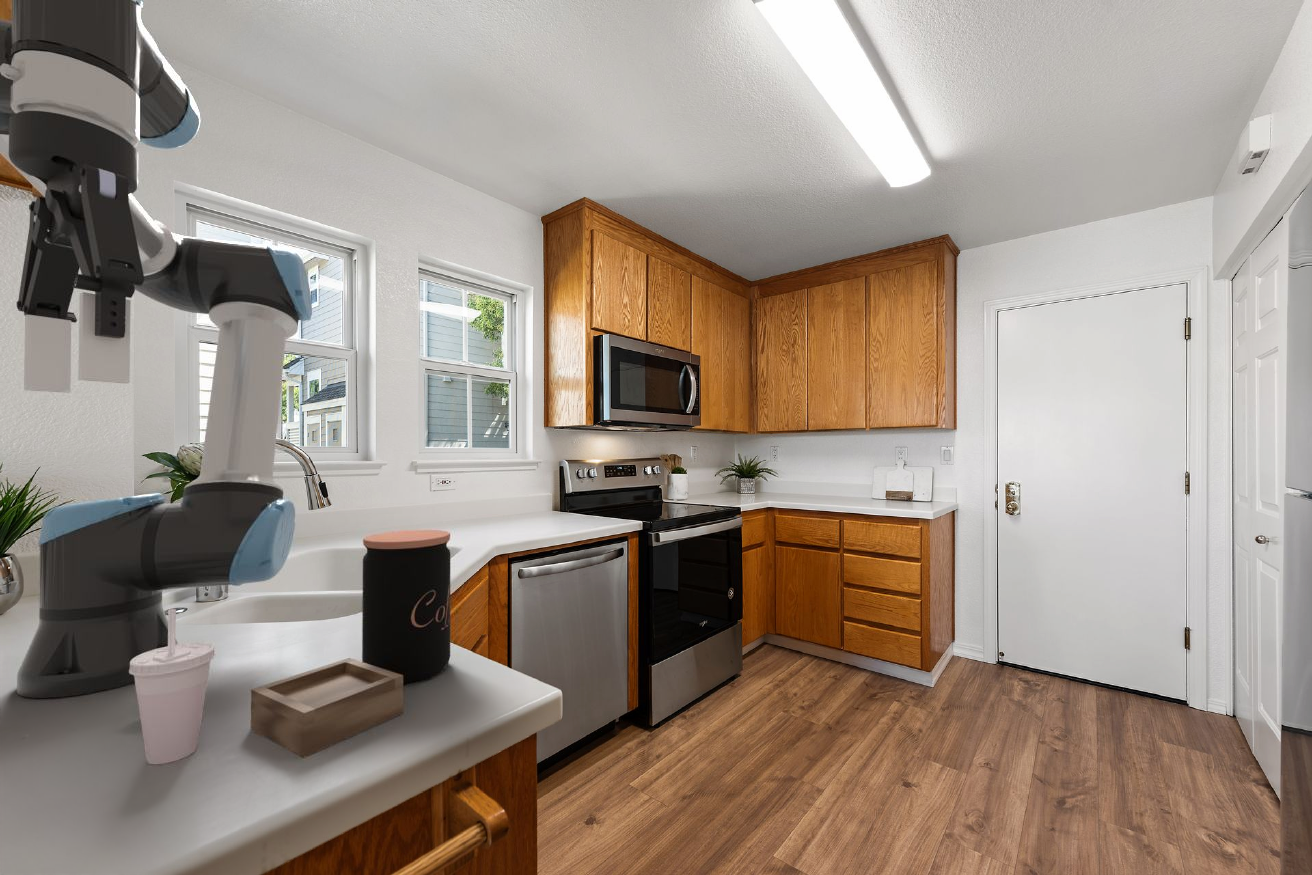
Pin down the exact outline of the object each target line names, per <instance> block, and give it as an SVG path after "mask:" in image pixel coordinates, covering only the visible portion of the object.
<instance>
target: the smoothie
mask: <svg viewBox="0 0 1312 875" xmlns="http://www.w3.org/2000/svg"><path fill="white" fill-rule="evenodd" d="M167 614H168V616H167V619H168V646H167V647H162V648H158V649H155V650H151V651H148V652H145V653H143V654H140V655H138V656H136V657H135V658H133V659H132V660H131V661H130V670H129V673H130V674H132V675H134V678H135V682H134V685H135V692H136V698H137V704H138V705H137V706H138V711H139V717H140V718H139V719H140V723H141V730H142V731H141V732H142V736H143V743H144V750H145V756H146V757H145V758H146V763H148V764H150V765H162V764H169V763H172V762H176V761H179V760H182V759H185V758H186V757H188V756H191V755H192V754H194V753H195V752H196V750H197V749H198V745H199V738H200V731H201V724H202V719H203V713H204V706H205V705H204V704H205V701H206V700H205V699H206V693H207V686H208V681H209V680H208V679H209V675H210V668H211V661H212V660H213V659H214V658H216V653H215V645H214V644H212V643H210V642H209V643H208V642H188V643H178V645H175V641H176V640H177V638H176V632H177V631H176V628H177V626H176V624H177V622H176V620H177V617H176V616H177V609H176V608H172V609H169V610H168V611H167Z"/></svg>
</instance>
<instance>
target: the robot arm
mask: <svg viewBox="0 0 1312 875" xmlns="http://www.w3.org/2000/svg"><path fill="white" fill-rule="evenodd" d="M10 5H11V20H6V19H2V18H0V155H1V156H2V157H3V158H4V159H5V160H6V161H7V162H8V163H9V164H10V165H11V166H12V167H13V168H14V169H16V171H18V173H19V174H20V175H21V176H23V178H25V179H26V180H27V181H28V182H29V183H30V184H31V185H32V186H33V187H34V188H35V189H36V190H37V191H38V192H39V193H40V194H41V195H42V196H40V195H38V196H36V199H35V200H32V201H31V202H30V204H29V205H28V209H29V226H28V227H29V228H28V235H27V240H26V247H25V254H24V261H23V266H22V267H23V268H22V273H21V279H20V286H19V292H18V300H17V301H16V309H17V311H19V312H22V313H23V315H24V362H23V363H24V364H23V365H24V369H23V372H24V373H23V374H24V375H23V376H24V377H23V391H31V392H33V391H34V392H51V393H71V375H72V374H71V373H72V372H71V370H72V369H71V367H72V366H71V365H72V364H71V363H72V361H71V360H72V323H77V322H79V323H78V373H77V374H78V381H85V382H86V381H87V382H89V381H90V382H98V383H99V382H100V383H101V382H102V383H112V384H113V383H114V384H130V381H131V380H130V379H131V378H130V377H131V374H130V372H131V371H130V370H131V369H130V368H131V367H130V365H131V363H130V362H131V361H130V360H131V356H130V355H131V298H132V297H133V296H134V294H135V291H137V292H139V293H140V294H142V295H144V296H146V297H148V298H150V299H151V300H153V301H155V302H157V303H160V304H163V305H165V306H167V307H171V308H173V309H177V310H179V311H183V312H188V313H193V314H202V315H203V314H204V315H208V318H209V319H210V321H211V322H212V324H214V325H215V326H216V327H217V328H218V329H219V330H218V337H217V338H218V340H217V345H216V354H215V361H214V366H213V367H214V368H213V375H212V385H211V392H210V398H209V405H208V414H207V421H206V429H205V436H204V442H203V451H202V458H201V465H200V473H199V476H198V477H197V478H196V479H194V480H192V481H191V482H189V483H187V484H186V485H185V486H184V488H183V495H182V499H181V502H175V503H171V502H170V503H166V498H165V497H164V495H163V494H162V493H161V492H156V493H155V492H154V493H148V494H147V493H146V494H140V495H132V496H131V495H130V496H125V497H123V496H122V497H118V498H115V497H114V498H110V499H109V498H108V499H103V500H96V501H89V502H88V501H86V502H80V503H72V504H67V505H66V504H65V505H59V506H56V507H53V508H52V509H50V510H49V511H47V512H46V513H45V514H44V516H43V517H42V520H41V521H42V522H41V527H40V528H41V529H40V536H39V541H38V543H37V546H38V547H39V589H38V590H39V591H38V592H39V595H38V596H39V597H38V599H39V603H38V604H39V605H38V607H39V612H38V614H39V615H38V618H39V620H38V626H37V630H36V632H35V633H34V636H33V638H32V640H31V642H30V645H29V647H28V648H27V651H26V654H25V656H24V658H23V660H22V662H21V664H20V667H19V669H18V671H17V675H16V693H17V695H19V696H20V697H21V696H22V697H24V698H33V699H46V698H50V699H51V698H59V697H70V696H77V695H84V694H88V693H95V692H99V691H105V690H109V689H113V688H114V689H115V688H117V687H121V686H125V685H129V684H132V683H135V678H134V675H132V674H130V673H129V670H130V661H131V660H132V659H133V658H135V657H136V656H138V655H140V654H143V653H145V652H148V651H151V650H155V649H158V648H162V647H167V646H168V616H167V615H166V613H165V610H164V608H163V591H165V590H177V589H178V590H179V589H189V588H204V587H205V588H207V587H216V586H217V587H218V586H231V585H232V586H234V587H236V586H237V587H239V586H242V585H243V584H253V583H259V582H260V583H262V582H266V581H270V580H271V579H273V578H274V577H276V576H277V575H278V574H280V571H281V570H282V569H283V567H284V566H285V563H286V561H287V559H288V556H289V553H290V551H291V547H292V543H293V540H294V534H295V527H296V522H295V519H296V518H295V517H296V509H295V506H294V503H293V502H292V500H290V499H287V498H284V488H282V487H281V486H280V485H279V484H278V483H277V482H276V481H275V480H274V476H273V475H274V466H275V465H274V464H275V456H276V446H277V445H276V444H277V436H278V435H277V434H278V423H279V413H280V412H279V411H280V403H281V392H282V382H283V381H282V380H283V374H284V373H283V372H284V361H285V350H286V342H287V339H290V338H291V337H293V336H295V335H296V334H297V333H298V329H299V321H301V322H305V321H310V320H312V315H313V306H312V304H313V303H312V297H311V290H310V283H309V278H308V274H307V271H306V270H307V269H306V267H305V263H304V261H303V258H302V256H301V255H300V254H299V252H297V251H296V250H295V249H292V248H289V247H283V246H277V245H276V246H275V245H271V243H266V245H264V244H263V245H262V244H256V243H255V244H254V243H247V242H246V243H245V242H239V241H238V242H237V241H230V240H229V241H227V240H220V239H210V238H201V237H200V238H198V237H192V236H185V235H180V234H177V233H173V232H172V231H171V230H170V229H169V228H168V226H166V225H165V224H163V223H162V222H161V221H159V220H157V219H155V218H153V217H150V216H149V214H148V213H147V212H146V211H145V210H144V208H143V207H142V206H141V205H140V203H139V202H138V201H137V200H136V198H135V197H134V196H133V194H134V193H135V192H136V191H137V190H138V187H139V151H138V150H137V149H136V147H138V145H139V143H143V145H146V146H149V147H152V148H156V149H164V150H167V149H169V150H170V149H177V148H179V147H182V146H183V147H184V146H185V145H187V144H188V143H190V142H191V141H192V140H194V138H195V137H196V136H197V133H198V132H199V128H200V126H201V125H200V124H201V117H200V111H199V109H198V106H197V103H196V102H195V100H194V97H193V96H192V94H191V92H190V91H189V89H188V86H187V84H186V83H185V81H184V80H183V79H182V78H181V77H180V75H179V74H178V73H177V72H176V71H175V70H174V69H173V67H172V66H171V64H169V62H168V61H167V60H166V59H165V57H164V56H163V55H162V53H161V52H160V50H159V48H158V46H157V44H156V42H155V41H154V39H153V37H152V36H151V34H150V33H149V32H148V30H147V29H146V28H145V26H144V25H143V22H142V18H141V11H142V10H143V9H144V8H143V7H144V3H143V1H142V0H11V4H10ZM79 271H80V273H79ZM75 289H76V290H84V291H82V292H80V293H79V306H78V308H79V309H78V310H79V311H78V313H79V314H78V315H79V316H78V319H77V317H76V314H75V312H72V311H69V308H70V304H71V300H72V297H73V294H74V290H75ZM85 291H89V292H85ZM91 292H94V293H91ZM127 298H130V299H127ZM178 644H179V643H178V640H177V639H176V641H175V645H178Z"/></svg>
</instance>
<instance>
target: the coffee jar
mask: <svg viewBox="0 0 1312 875" xmlns="http://www.w3.org/2000/svg"><path fill="white" fill-rule="evenodd" d="M450 540H451V532H449V531H445V530H439V529H438V530H437V529H409V530H395V531H387V532H386V531H385V532H380V533H374V534H373V533H372V534H371V535H367V536H365V537H363V538H362V543H363V546H364V547H365V548H366V553H365V554H364V555H363V558H362V595H361V596H362V599H361V600H362V605H361V607H362V608H361V609H362V617H361V618H362V620H361V622H362V623H361V624H362V627H361V628H362V630H361V631H362V634H361V636H362V637H361V639H362V640H361V641H362V642H361V644H362V645H361V646H362V648H361V649H362V650H361V653H362V654H361V658H362V659H361V662H363V663H367V664H370V665H373V666H376V667H379V668H382V669H385V670H388V671H391V672H394V673H397V674H401V675H403V686H409V685H414V684H418V683H419V684H420V683H422V682H425V681H428V680H431V679H432V678H435V677H436V676H439V675H440V674H441V673H443V672H444V671H445V668H446V667H447V665H448V664H449V662H450V658H451V550H450V548H449V547H448V546H447V544H448V542H450Z"/></svg>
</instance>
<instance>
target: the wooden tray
mask: <svg viewBox="0 0 1312 875" xmlns="http://www.w3.org/2000/svg"><path fill="white" fill-rule="evenodd" d="M403 714H404V685H403V675H401V674H397V673H394V672H391V671H388V670H385V669H382V668H379V667H376V666H373V665H370V664H367V663H363V662H362V661H359V660H356V659H354V658H351V657H348V658H344V659H342V660H338V661H335V662H332V663H329V664H326V665H323V666H320V667H316V668H313V669H310V670H308V671H307V670H306V671H304V672H301V673H298V674H294V675H292V676H289V677H286V678H283V679H280V680H276V681H273V682H270V683H267V684H264V685H261V686H258V687H254V688H252V689H250V731H252V732H254V733H256V734H258V735H260V736H262V737H263V738H265V739H268V741H269V740H270V741H272V742H274V743H275V744H277V745H279V746H281V747H283V748H285V749H287V750H289V751H290V752H292V753H295V754H296V755H298V756H300V757H302V758H306V757H308V756H311V755H313V754H315V753H317V752H319V751H322V750H324V749H327V748H329V747H331V746H334V745H336V744H337V743H341V742H342V741H345V740H346V739H348V738H351V737H353V736H356V735H358V734H361V733H363V732H365V731H366V730H369V729H372V728H374V727H376V726H378V725H380V724H383V723H385V722H387V721H390V720H391V719H393V718H396V717H398V716H400V715H403Z"/></svg>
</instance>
